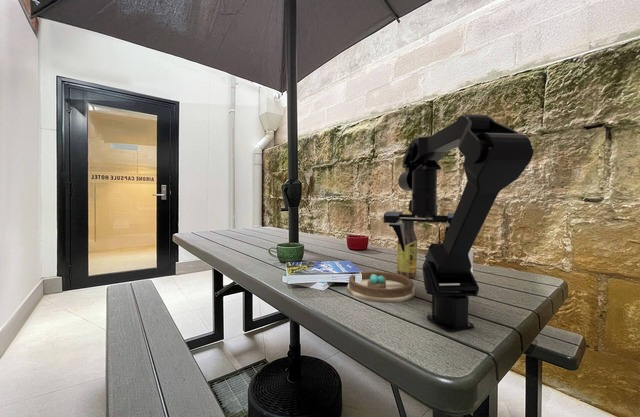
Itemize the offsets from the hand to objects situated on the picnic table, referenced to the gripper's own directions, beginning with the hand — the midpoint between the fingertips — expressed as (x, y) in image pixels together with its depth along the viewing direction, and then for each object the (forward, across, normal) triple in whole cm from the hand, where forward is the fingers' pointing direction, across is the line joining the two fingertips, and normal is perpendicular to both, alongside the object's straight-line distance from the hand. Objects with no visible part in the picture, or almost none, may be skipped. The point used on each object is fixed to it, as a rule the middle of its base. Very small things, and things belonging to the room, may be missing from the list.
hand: (423, 252), depth 68 cm
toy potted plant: (+11, +11, +2) cm, 16 cm away
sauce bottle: (+12, +7, -21) cm, 25 cm away
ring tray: (+12, +11, -3) cm, 17 cm away
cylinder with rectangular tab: (+12, -7, -13) cm, 19 cm away
